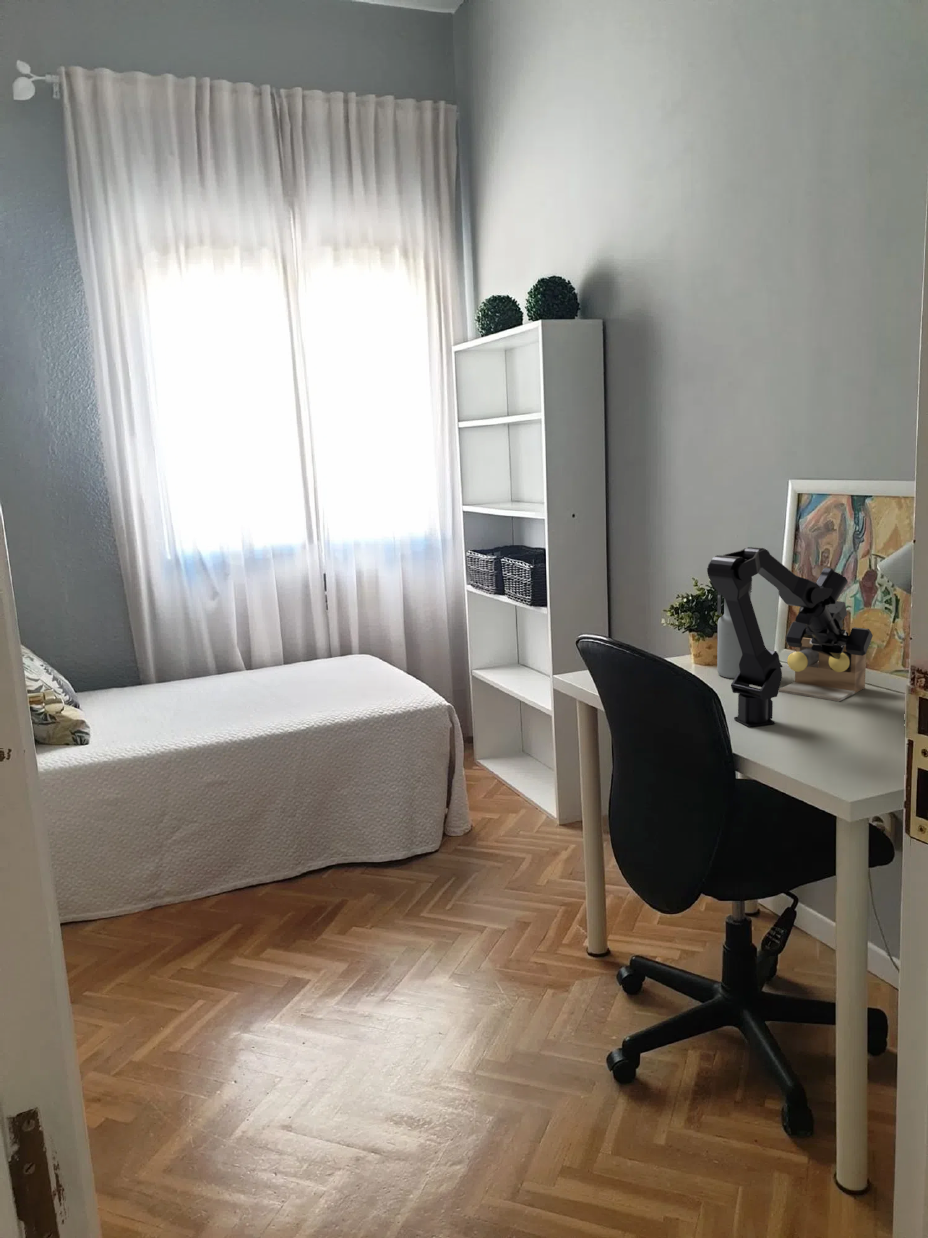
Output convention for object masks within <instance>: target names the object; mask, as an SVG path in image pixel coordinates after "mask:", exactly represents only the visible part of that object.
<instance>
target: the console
mask: <svg viewBox="0 0 928 1238" xmlns="http://www.w3.org/2000/svg"><path fill="white" fill-rule="evenodd" d="M810 640H811V638H803V639H802V641H801V643H802V646H801V647H800V648H798V647H795V652H799V651H802V650H804V649H807V648H810V647H812V644H810ZM843 651H844V652H847V651H846V646H845V647H844V649H843ZM829 657H830V656H828V655H825V654H823V653H820V652H819V661H818V662H817V663H815V664H813V665H811V666H809V667H806V668H805V669H804V670H802V671H800V672H796V671H794V682H791V683H789V684H787V685H785V686H783V687H781V688H780V687H779V691H778V693H784V694H785V693H786V694H792V695H797V696H804V697H811V698H816V699H820V700H821V699H822V700H827V701H828V700H829V701H835V702H841V701H843V700H845V699H846V698H849V697H851V696H853V695H854V694H855V695H856V694H857V693H859V692H861V691H863V690H864V689H866V667H867V666H866V665H867V653H866V654H865V655H863V656H861V655H853V654H851V667H849V668H848V669H847V670H845V671H843V672H836V671H834V670H833V669H832V668H831V667H830V665H829ZM862 689H863V690H862Z"/></svg>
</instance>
